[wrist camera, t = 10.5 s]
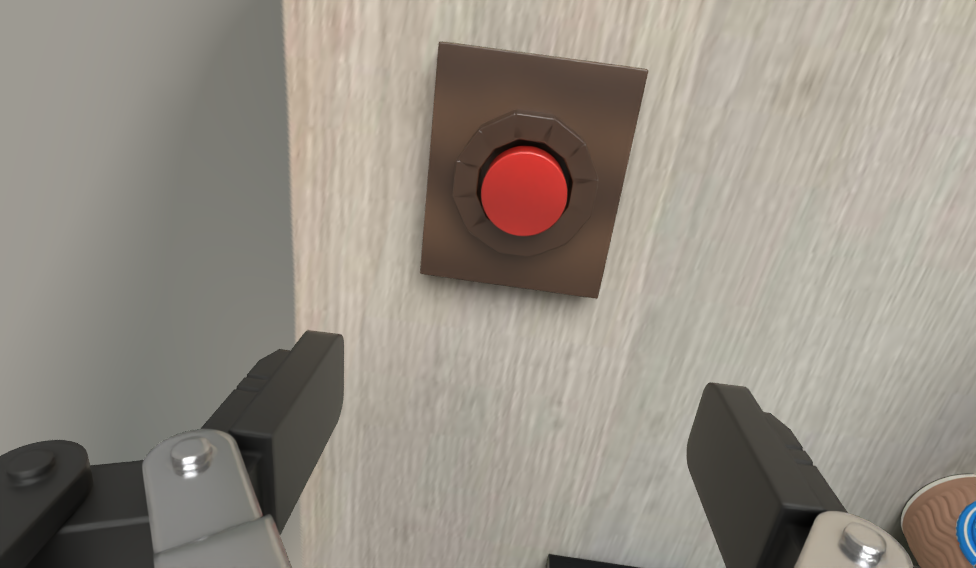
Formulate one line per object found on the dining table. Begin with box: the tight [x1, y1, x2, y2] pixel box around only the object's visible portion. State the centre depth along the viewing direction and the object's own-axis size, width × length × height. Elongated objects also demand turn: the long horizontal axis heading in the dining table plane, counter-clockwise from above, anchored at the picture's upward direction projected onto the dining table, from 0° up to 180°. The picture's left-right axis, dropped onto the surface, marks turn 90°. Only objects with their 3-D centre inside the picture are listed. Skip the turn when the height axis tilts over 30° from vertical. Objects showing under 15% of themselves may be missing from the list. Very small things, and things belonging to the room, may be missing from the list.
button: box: [481, 146, 567, 236], centre depth 27 cm, size 4×4×2 cm
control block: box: [420, 42, 648, 299], centre depth 29 cm, size 12×10×4 cm
